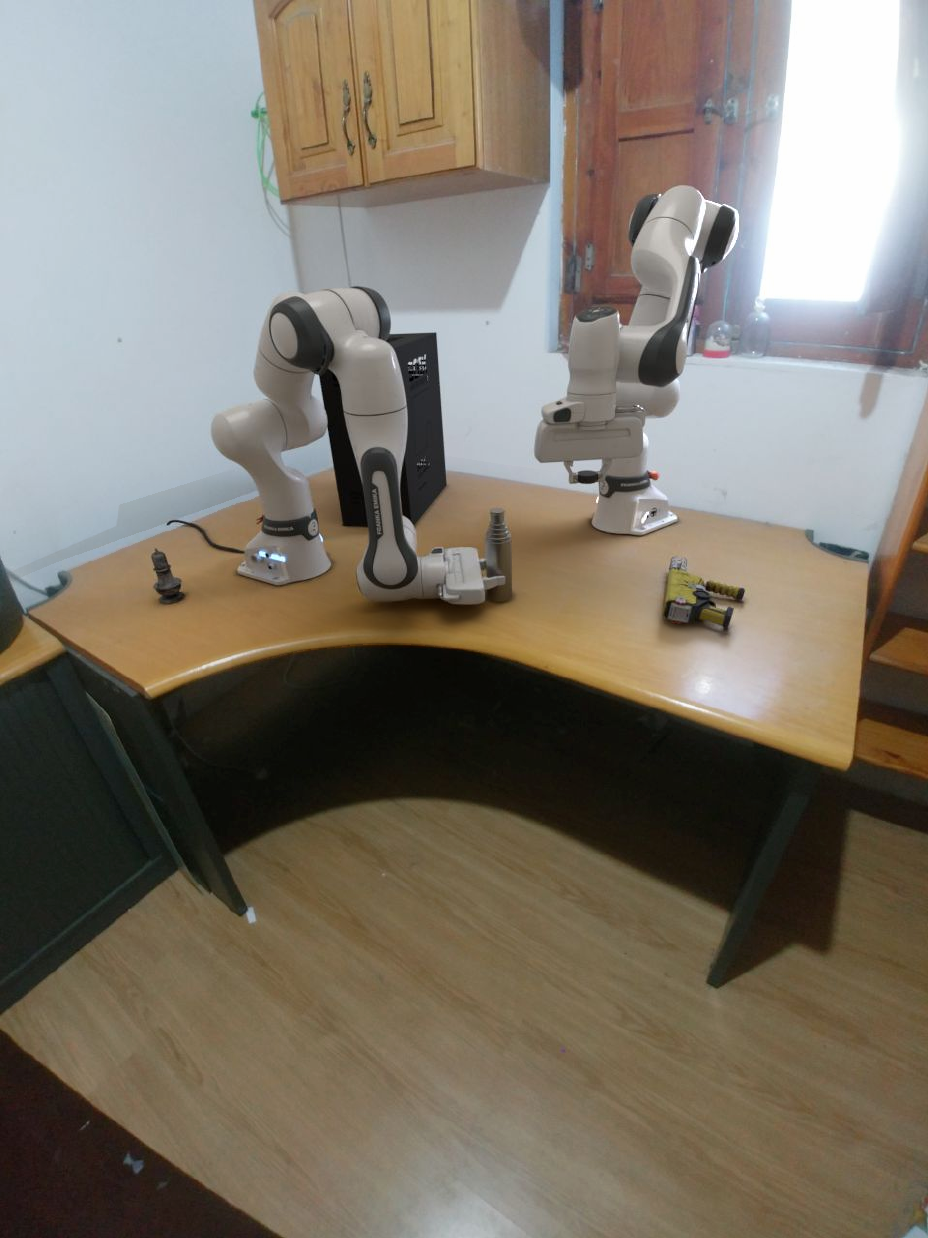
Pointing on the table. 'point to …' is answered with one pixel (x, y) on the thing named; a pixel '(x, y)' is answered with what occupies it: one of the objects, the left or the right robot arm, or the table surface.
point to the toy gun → (695, 597)
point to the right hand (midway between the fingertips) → (586, 482)
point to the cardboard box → (422, 433)
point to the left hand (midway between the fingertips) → (503, 572)
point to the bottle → (498, 556)
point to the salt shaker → (166, 579)
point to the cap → (587, 477)
